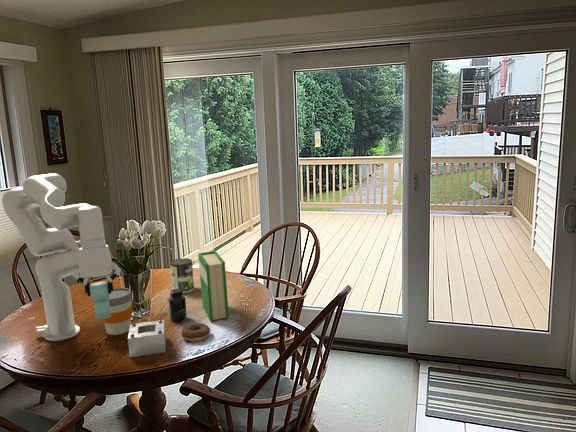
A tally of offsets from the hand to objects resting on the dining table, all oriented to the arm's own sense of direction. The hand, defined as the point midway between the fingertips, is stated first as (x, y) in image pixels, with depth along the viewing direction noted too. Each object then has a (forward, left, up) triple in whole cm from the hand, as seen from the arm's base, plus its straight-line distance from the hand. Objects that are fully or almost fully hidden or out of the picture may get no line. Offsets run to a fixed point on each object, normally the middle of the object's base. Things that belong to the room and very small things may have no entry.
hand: (99, 293), depth 164 cm
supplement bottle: (+25, +22, -22) cm, 40 cm away
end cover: (0, -1, -9) cm, 9 cm away
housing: (+14, 0, -22) cm, 26 cm away
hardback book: (+40, +23, -22) cm, 51 cm away
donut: (+31, +3, -23) cm, 38 cm away
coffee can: (+28, +56, -22) cm, 67 cm away
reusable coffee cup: (+2, +19, -22) cm, 30 cm away
